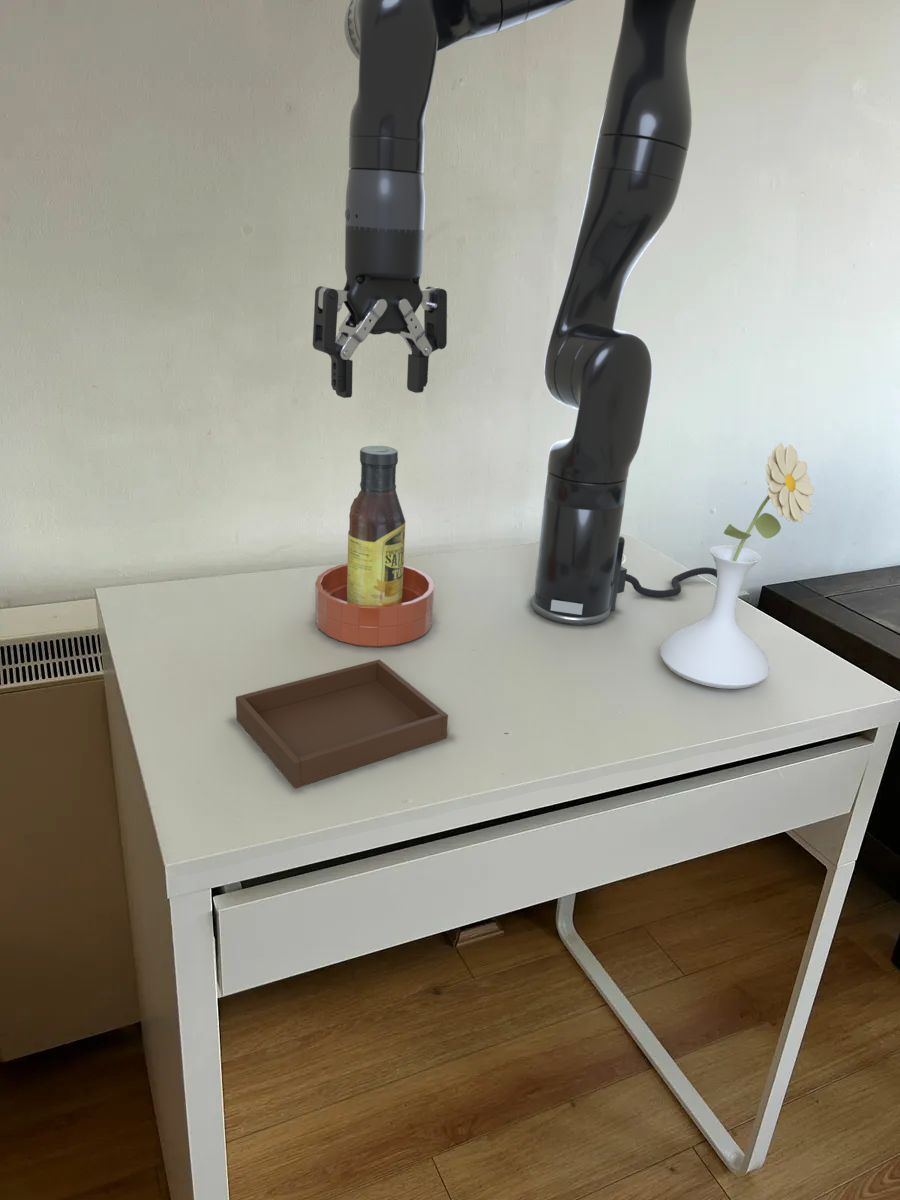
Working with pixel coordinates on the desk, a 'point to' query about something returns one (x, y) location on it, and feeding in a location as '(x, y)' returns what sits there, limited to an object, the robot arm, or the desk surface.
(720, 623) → the flower in vase
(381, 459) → the sauce bottle
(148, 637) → the desk surface
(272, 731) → the tray
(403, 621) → the bowl
